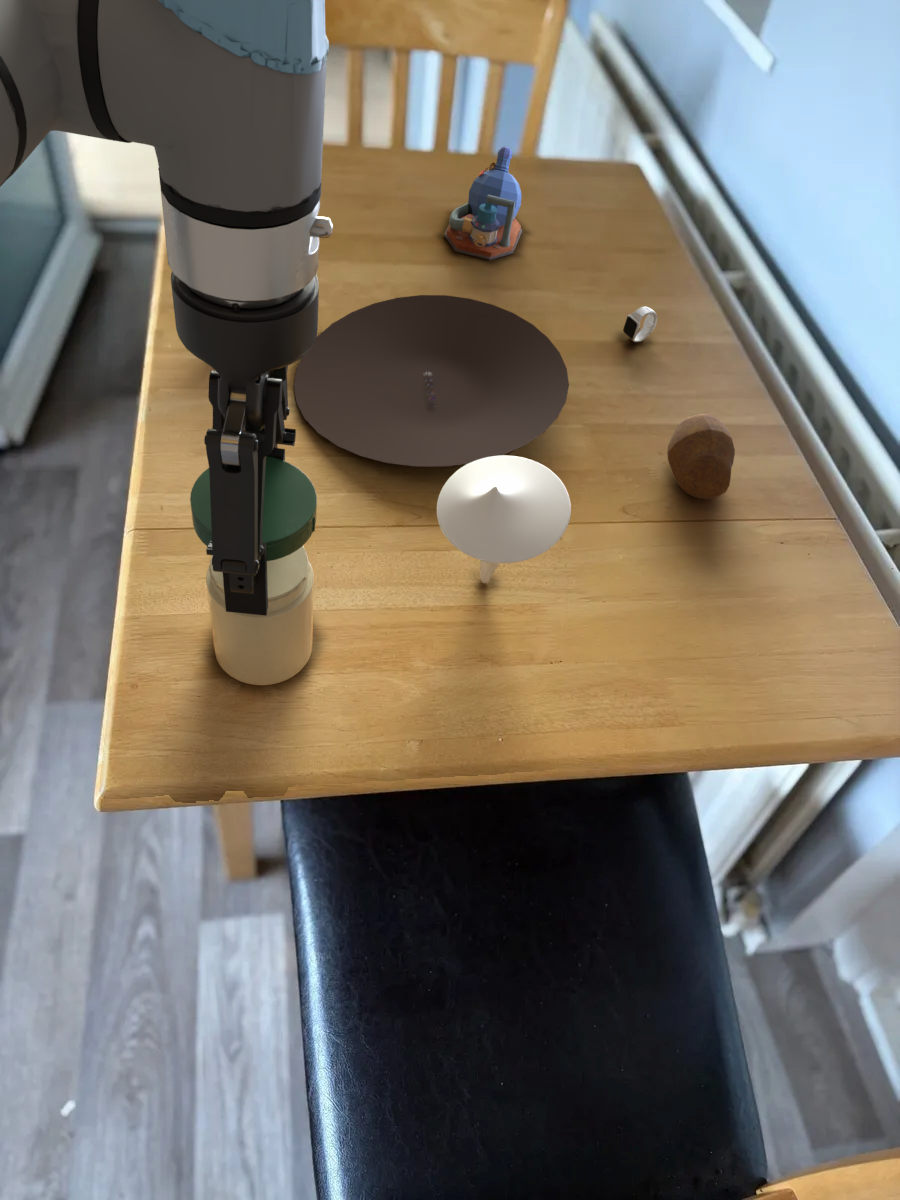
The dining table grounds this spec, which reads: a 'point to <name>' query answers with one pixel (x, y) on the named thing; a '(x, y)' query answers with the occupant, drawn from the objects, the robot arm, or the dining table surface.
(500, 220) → the model
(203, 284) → the robot arm
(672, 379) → the dining table surface
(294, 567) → the jam jar
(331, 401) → the plate
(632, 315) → the smartwatch
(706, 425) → the potato
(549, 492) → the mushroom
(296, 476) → the jar lid
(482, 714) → the dining table surface
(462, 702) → the dining table surface
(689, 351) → the dining table surface
